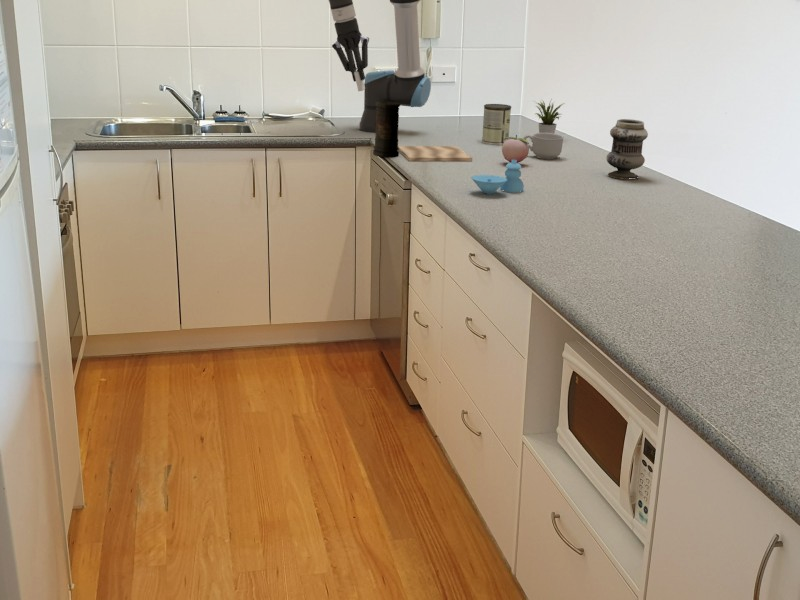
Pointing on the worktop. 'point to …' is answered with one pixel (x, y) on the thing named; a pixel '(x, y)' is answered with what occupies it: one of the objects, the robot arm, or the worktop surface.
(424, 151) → the wooden cutting board
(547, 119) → the house plant
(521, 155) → the decorative fruit
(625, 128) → the apothecary jar
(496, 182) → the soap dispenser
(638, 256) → the worktop surface
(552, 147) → the teacup
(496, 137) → the coffee can
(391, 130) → the container
